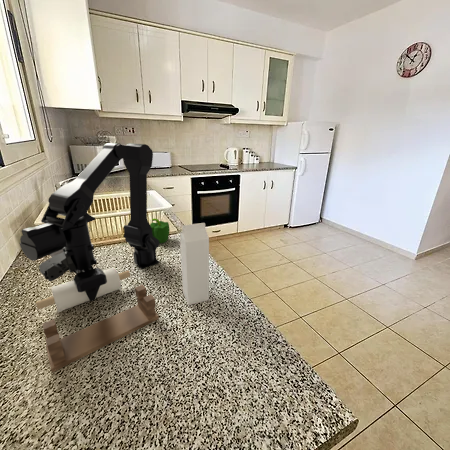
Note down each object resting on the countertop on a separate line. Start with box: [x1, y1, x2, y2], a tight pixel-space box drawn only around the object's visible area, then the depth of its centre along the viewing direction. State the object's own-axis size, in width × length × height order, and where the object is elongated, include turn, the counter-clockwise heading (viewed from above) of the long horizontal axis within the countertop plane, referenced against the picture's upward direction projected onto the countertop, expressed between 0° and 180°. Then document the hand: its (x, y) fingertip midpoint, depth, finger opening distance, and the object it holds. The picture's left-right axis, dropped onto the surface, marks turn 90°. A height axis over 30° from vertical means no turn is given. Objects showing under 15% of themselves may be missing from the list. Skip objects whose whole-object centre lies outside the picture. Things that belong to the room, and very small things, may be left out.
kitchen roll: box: [35, 266, 131, 313], centre depth 64 cm, size 22×6×6 cm, turn 131°
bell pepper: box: [149, 217, 171, 244], centre depth 98 cm, size 8×8×10 cm
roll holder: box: [41, 284, 160, 374], centre depth 53 cm, size 22×7×6 cm, turn 131°
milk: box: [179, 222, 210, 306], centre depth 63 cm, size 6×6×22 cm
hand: (89, 293), depth 64 cm, fingers closed on kitchen roll, 6 cm apart
